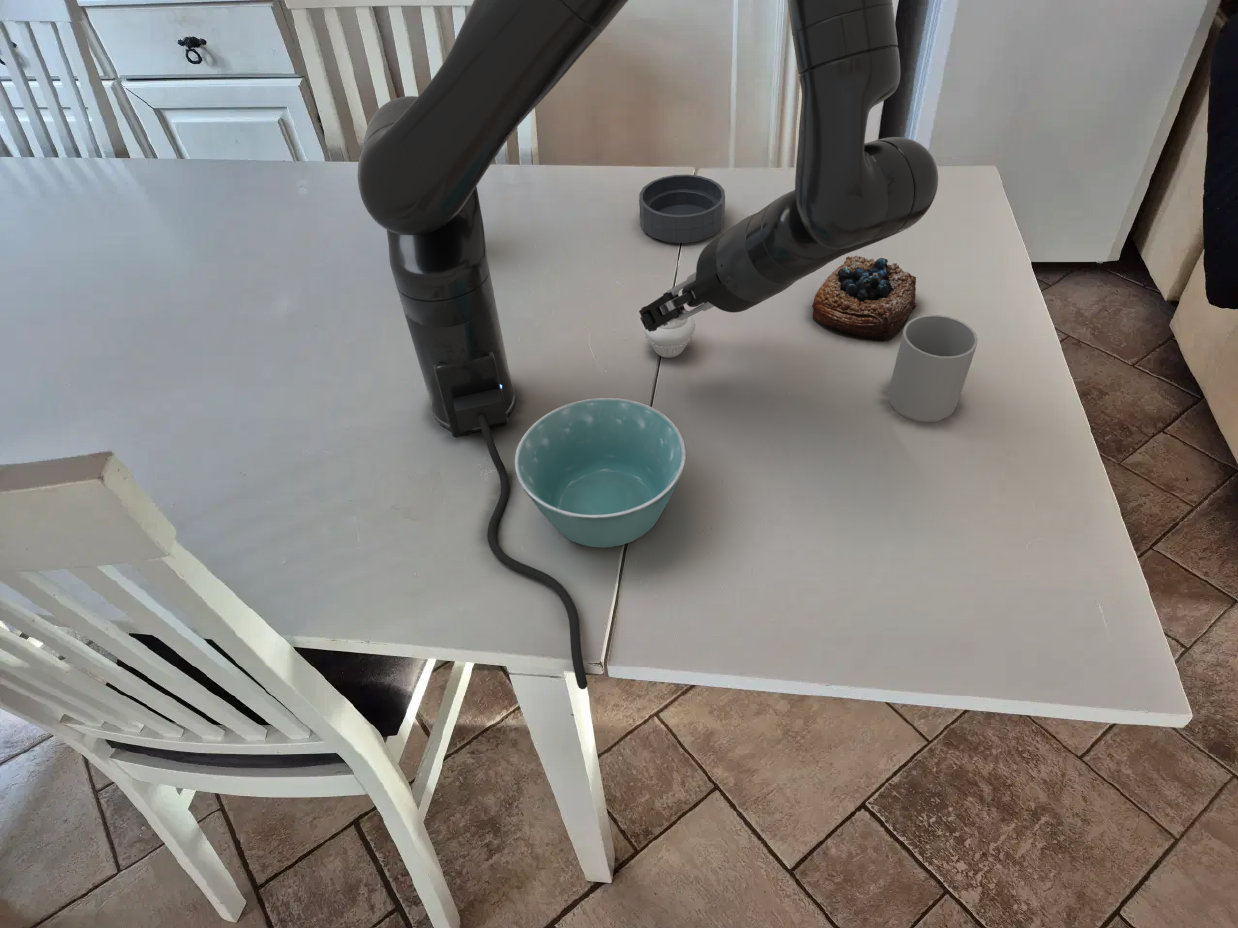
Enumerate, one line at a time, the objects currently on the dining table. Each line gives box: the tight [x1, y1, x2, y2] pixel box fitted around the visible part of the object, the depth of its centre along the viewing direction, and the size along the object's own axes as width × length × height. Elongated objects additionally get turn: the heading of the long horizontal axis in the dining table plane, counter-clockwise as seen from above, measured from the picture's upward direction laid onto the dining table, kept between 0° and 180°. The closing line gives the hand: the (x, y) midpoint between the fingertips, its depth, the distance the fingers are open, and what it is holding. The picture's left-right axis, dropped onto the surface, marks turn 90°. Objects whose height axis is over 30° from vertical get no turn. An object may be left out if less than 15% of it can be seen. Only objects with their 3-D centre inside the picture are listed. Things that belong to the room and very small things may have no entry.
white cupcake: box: [642, 315, 696, 359], centre depth 95 cm, size 6×6×7 cm
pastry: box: [811, 255, 918, 343], centre depth 99 cm, size 11×12×6 cm
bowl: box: [514, 397, 687, 548], centre depth 77 cm, size 16×16×8 cm
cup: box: [887, 314, 979, 423], centre depth 86 cm, size 7×10×9 cm
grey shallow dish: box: [638, 174, 726, 244], centre depth 116 cm, size 12×12×4 cm
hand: (676, 307), depth 92 cm, fingers open, 8 cm apart
